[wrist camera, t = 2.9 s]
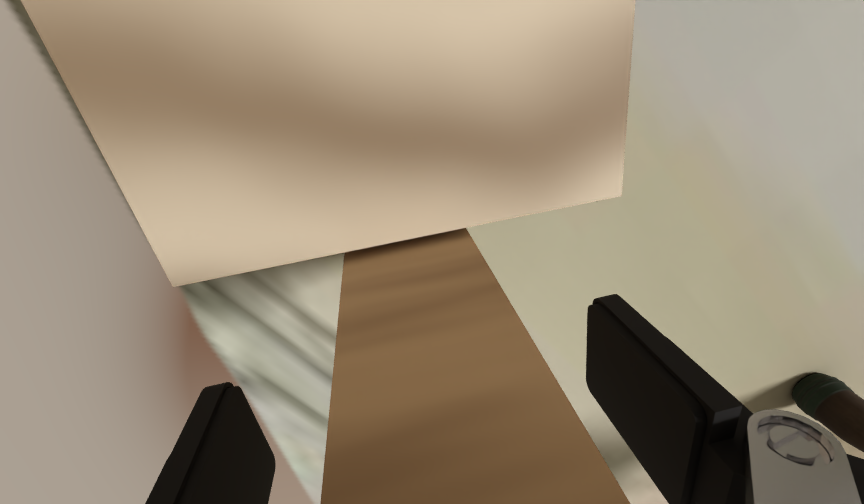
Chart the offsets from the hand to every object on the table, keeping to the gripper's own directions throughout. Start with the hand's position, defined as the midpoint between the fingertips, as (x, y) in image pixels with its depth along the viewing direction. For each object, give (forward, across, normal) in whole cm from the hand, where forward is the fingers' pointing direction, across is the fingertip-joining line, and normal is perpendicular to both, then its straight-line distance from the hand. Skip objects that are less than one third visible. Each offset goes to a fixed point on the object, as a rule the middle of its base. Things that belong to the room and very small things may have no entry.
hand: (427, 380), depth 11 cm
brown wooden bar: (+12, 0, -1) cm, 12 cm away
